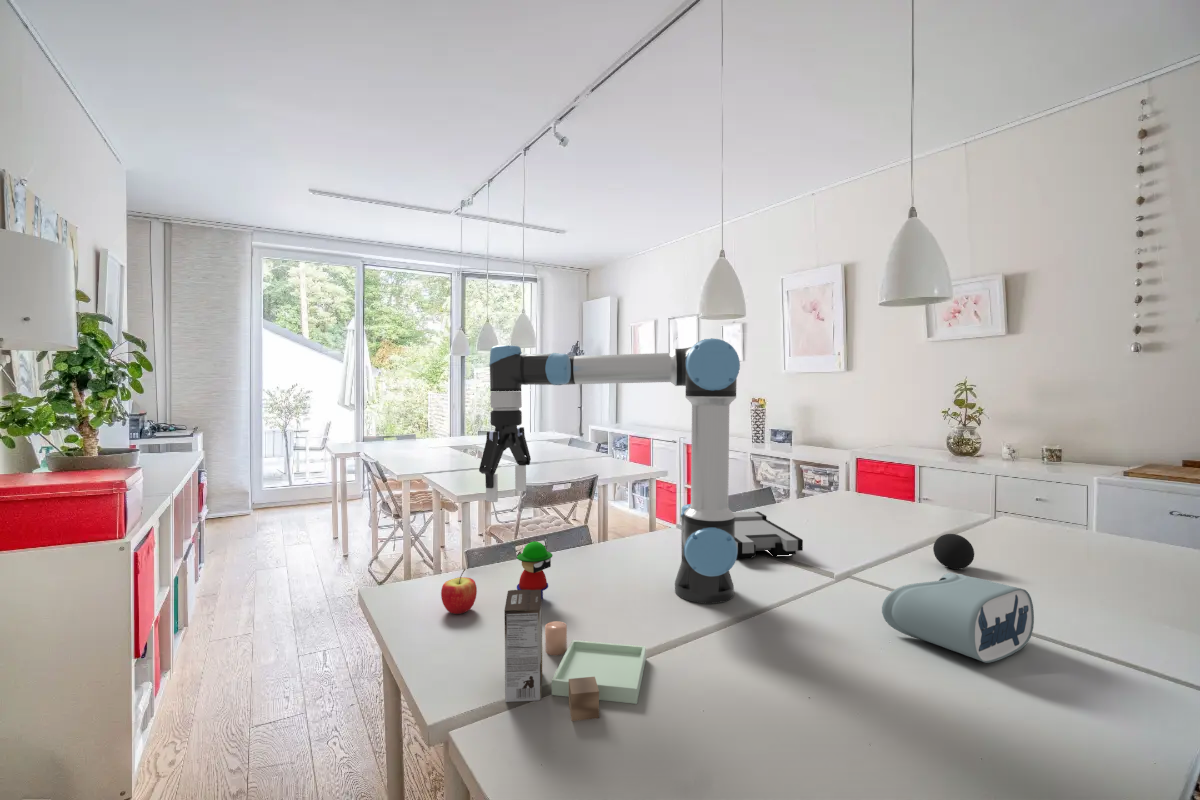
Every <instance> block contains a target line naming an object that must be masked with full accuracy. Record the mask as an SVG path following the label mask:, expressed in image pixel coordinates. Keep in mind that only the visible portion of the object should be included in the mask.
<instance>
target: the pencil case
mask: <svg viewBox="0 0 1200 800" xmlns="http://www.w3.org/2000/svg"><path fill="white" fill-rule="evenodd" d="M1033 603H1034V602H1033V600H1032V597H1031V595H1030V593H1029V592H1028V591H1027V590H1026V589H1024V588H1021V587H1020V588H1019V587H1016V586H1011V585H1007V584H1004V583H999V582H995V581H992V580H988V579H983V578H979V577H974V576H968V575H964V574H961V573H959V574H956V573H953V572H947V573H945V574H943V575H942V576H941V577H940V578H939V580H934V581H924V582H923V581H922V582H915V583H911V584H905V585H901V586H900V587H897V588H895V589H894V590H892V591H890V593H889V594H887V595H886V597H885V599H884V600H883V602H882V605H881V614H882V617H883V619H884V621H885V622H886V624H888V625H889V626H890V627H891V628H892V629H894V630H896V631H898V632H900V633H901V634H904V635H906V636H909V637H911V638H914V639H917V640H921V641H924V642H927V643H931V644H933V645H936V646H940V647H942V648H945V649H947V650H951V651H953V652H956V653H958V654H961V655H964V656H965V657H966V656H967V657H969V658H972V659H975V660H977V661H980V662H982V663H987V664H989V663H990V664H991V663H995V662H998V661H1001V660H1003V659H1005V658H1008V657H1009V656H1010V657H1011V656H1012V655H1013V654H1015V653H1017V652H1019V651H1020V650H1021V649H1024V647H1025V646H1027V644H1028V643H1029V641H1030V639H1031V638H1032V634H1033V630H1034V623H1035V616H1034V615H1035V614H1034V604H1033Z"/></svg>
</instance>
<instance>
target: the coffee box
mask: <svg viewBox="0 0 1200 800" xmlns="http://www.w3.org/2000/svg"><path fill="white" fill-rule="evenodd" d="M505 599H506V601H505V605H504V610H503V611H504V689H505V690H504V693H505V694H504V695H505V696H504V697H505V703H514V702H516V703H517V702H531V701H532V702H536V701H538V702H539V701H542V691H543V690H542V686H543V612H542V611H543V609H542V608H543V607H542V606H543V605H542V600H543V599H542V596H541V590H517V589H510V590H508V591H507V594H506V598H505Z"/></svg>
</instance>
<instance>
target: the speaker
mask: <svg viewBox="0 0 1200 800" xmlns="http://www.w3.org/2000/svg"><path fill="white" fill-rule="evenodd" d="M932 549H933V555H934V556H935V559H936V560H937V562H938V563H940V564H941V565H942V566H944V567H945V568H948V569H953V570H961V569H965V568H967V567H969V566H970V565H971V564H972V563H973V560H974V558H975V550H974V547H973V545H972V544H971V542H970V541H969V540H968V539H967V538H965V537H964V536H962V535H959V534H956V533H946V534H942V535H941V536H939V537H937V539H936V540H935V541H934V543H933V548H932Z"/></svg>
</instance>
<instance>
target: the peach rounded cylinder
mask: <svg viewBox="0 0 1200 800" xmlns="http://www.w3.org/2000/svg"><path fill="white" fill-rule="evenodd" d="M567 626H568V625H567V623H565V622H563V621H559V620H557V621H549V622H547V623H546V624H545V626H544V638H545V640H544V641H545V643H544V645H545V646H544V647H545V648H544V650H545V653H546V654H547V655H549V656H561V655H565V653H566V651H567V649H568V643H567V642H568V639H567V638H568V635H567V634H568V630H567V629H568V627H567Z"/></svg>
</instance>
